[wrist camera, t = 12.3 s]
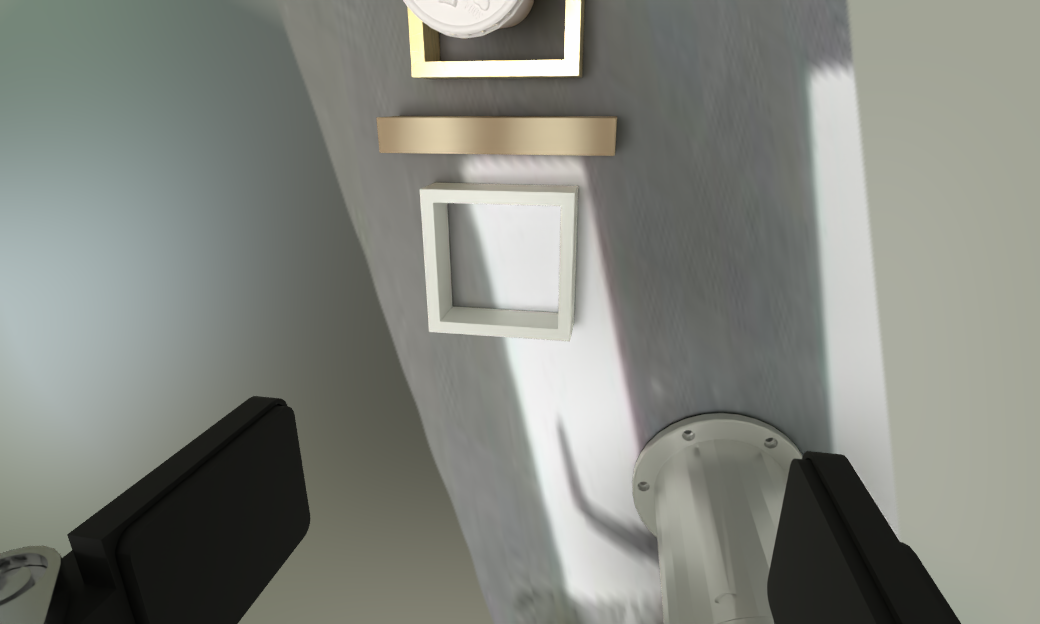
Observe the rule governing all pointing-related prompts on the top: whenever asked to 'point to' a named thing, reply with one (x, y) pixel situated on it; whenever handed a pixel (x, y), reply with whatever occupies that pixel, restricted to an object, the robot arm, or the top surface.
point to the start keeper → (439, 268)
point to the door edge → (498, 135)
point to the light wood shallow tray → (430, 67)
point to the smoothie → (469, 15)
